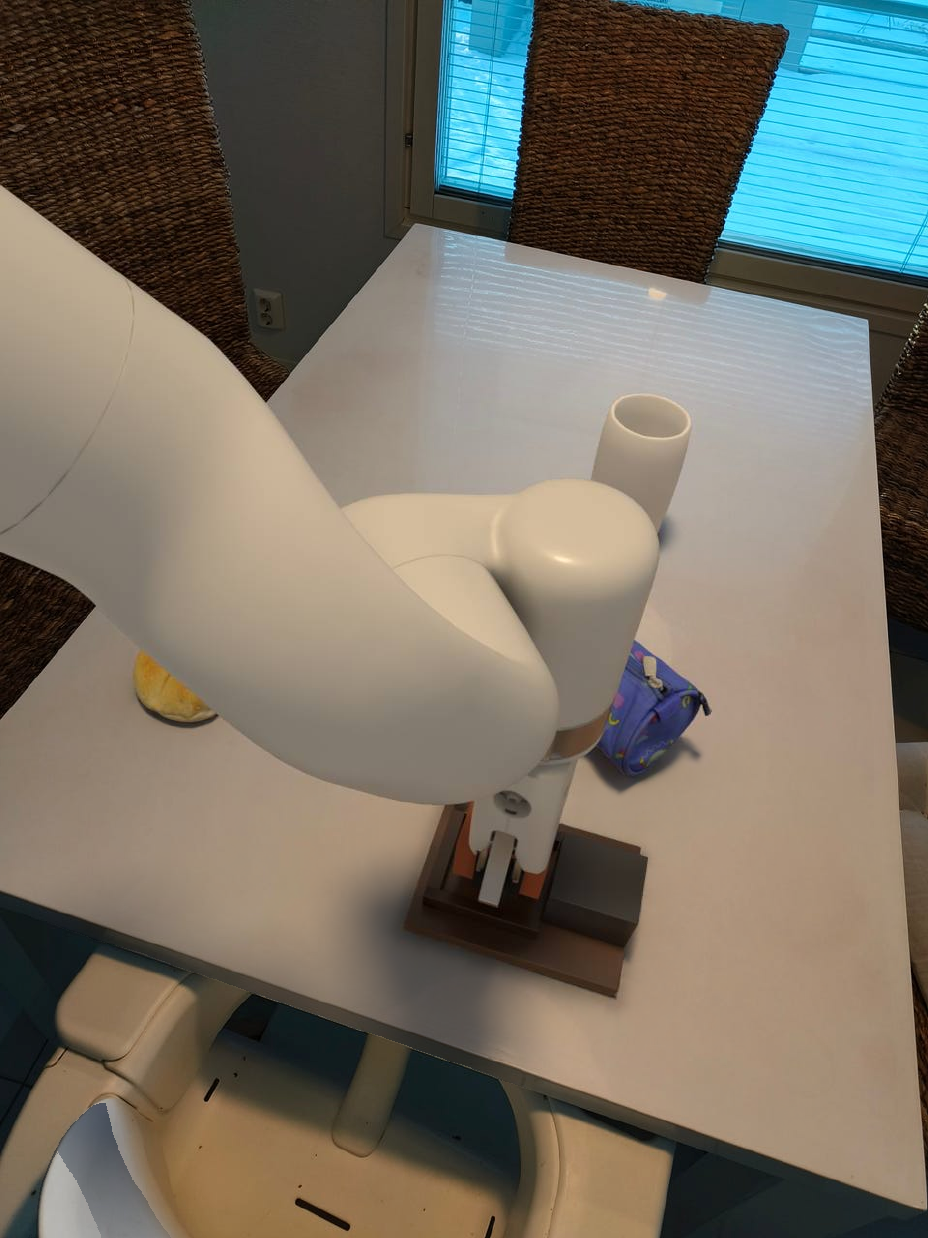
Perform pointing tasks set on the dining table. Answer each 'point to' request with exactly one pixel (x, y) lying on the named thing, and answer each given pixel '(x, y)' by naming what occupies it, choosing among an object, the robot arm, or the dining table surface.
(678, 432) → the cup
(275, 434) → the robot arm
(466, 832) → the orange block
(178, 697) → the bread roll
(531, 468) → the dining table surface
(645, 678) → the pencil case
